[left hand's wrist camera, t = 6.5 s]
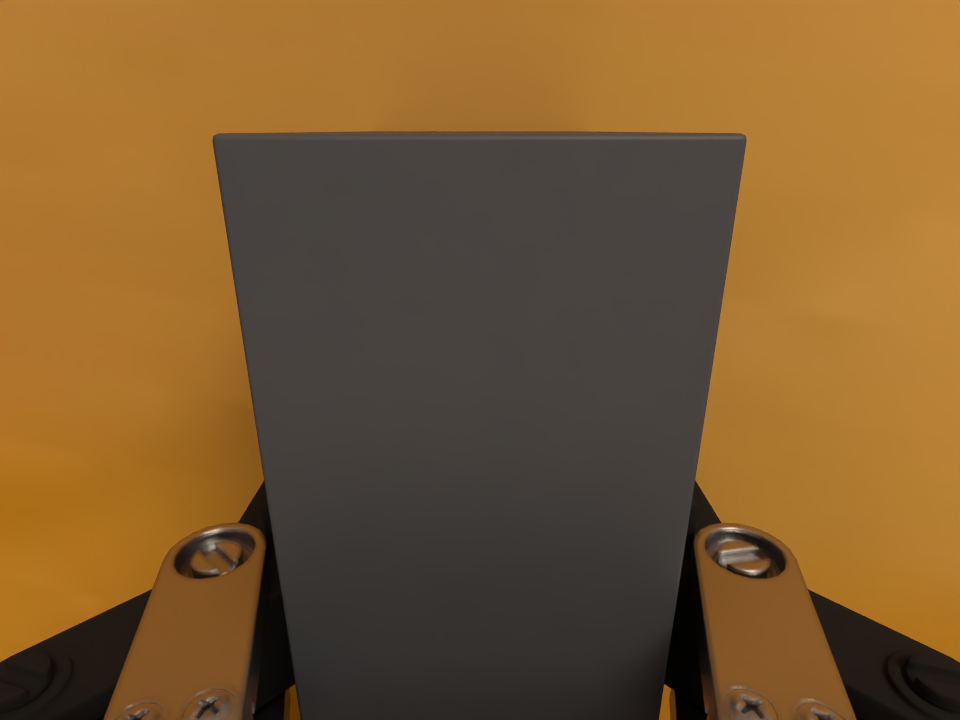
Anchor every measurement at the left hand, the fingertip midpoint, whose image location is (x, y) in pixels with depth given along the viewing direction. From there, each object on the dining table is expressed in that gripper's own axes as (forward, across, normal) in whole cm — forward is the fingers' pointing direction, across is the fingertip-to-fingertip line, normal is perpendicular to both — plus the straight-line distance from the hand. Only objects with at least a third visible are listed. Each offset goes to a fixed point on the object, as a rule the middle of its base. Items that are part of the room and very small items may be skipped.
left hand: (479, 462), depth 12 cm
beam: (+2, 0, -28) cm, 28 cm away
